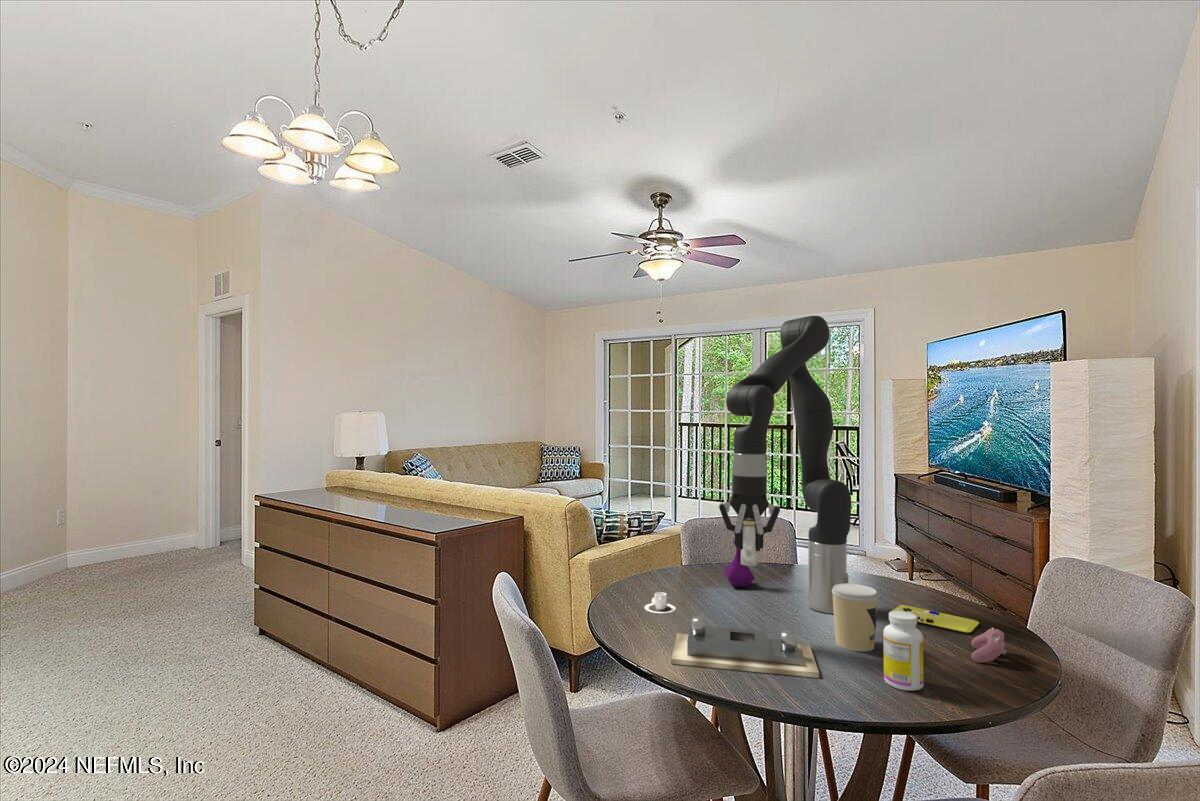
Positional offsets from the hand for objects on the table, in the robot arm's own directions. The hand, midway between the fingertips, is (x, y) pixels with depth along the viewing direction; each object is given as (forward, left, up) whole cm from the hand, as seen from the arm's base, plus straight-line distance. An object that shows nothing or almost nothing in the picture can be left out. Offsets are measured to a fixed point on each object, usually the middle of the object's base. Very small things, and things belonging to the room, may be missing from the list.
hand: (748, 549), depth 135 cm
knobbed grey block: (+2, +12, -19) cm, 23 cm away
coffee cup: (-22, 0, -20) cm, 30 cm away
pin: (0, 0, -3) cm, 3 cm away
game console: (-44, -21, -20) cm, 53 cm away
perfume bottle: (+2, -39, -20) cm, 44 cm away
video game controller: (-48, 0, -20) cm, 52 cm away
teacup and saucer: (+19, -16, -20) cm, 32 cm away
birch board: (+2, +12, -19) cm, 23 cm away
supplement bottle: (-27, +18, -20) cm, 38 cm away
